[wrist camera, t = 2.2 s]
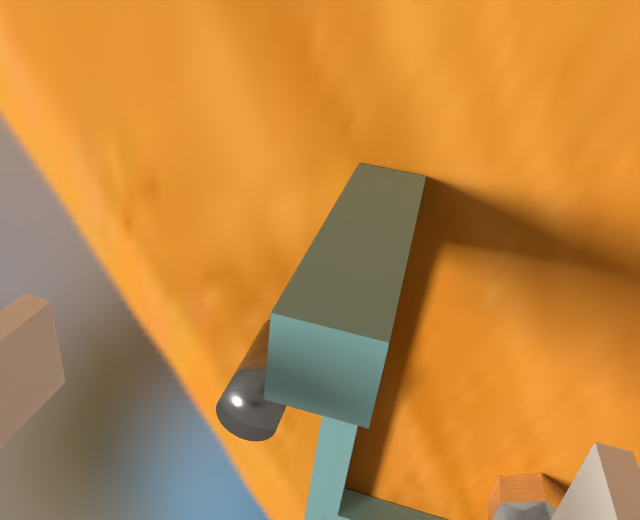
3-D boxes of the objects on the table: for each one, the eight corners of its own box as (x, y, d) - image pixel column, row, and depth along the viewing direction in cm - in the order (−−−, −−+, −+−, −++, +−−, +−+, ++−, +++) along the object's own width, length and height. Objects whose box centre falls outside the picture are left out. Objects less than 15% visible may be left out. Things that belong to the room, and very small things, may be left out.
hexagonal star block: (577, 480, 29) (584, 512, 27) (549, 529, 31) (553, 560, 29) (504, 460, 29) (506, 489, 28) (482, 509, 32) (482, 539, 30)
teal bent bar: (359, 162, 23) (271, 312, 13) (581, 207, 21) (679, 417, 11) (304, 495, 35) (237, 707, 25) (443, 539, 34) (431, 783, 24)
